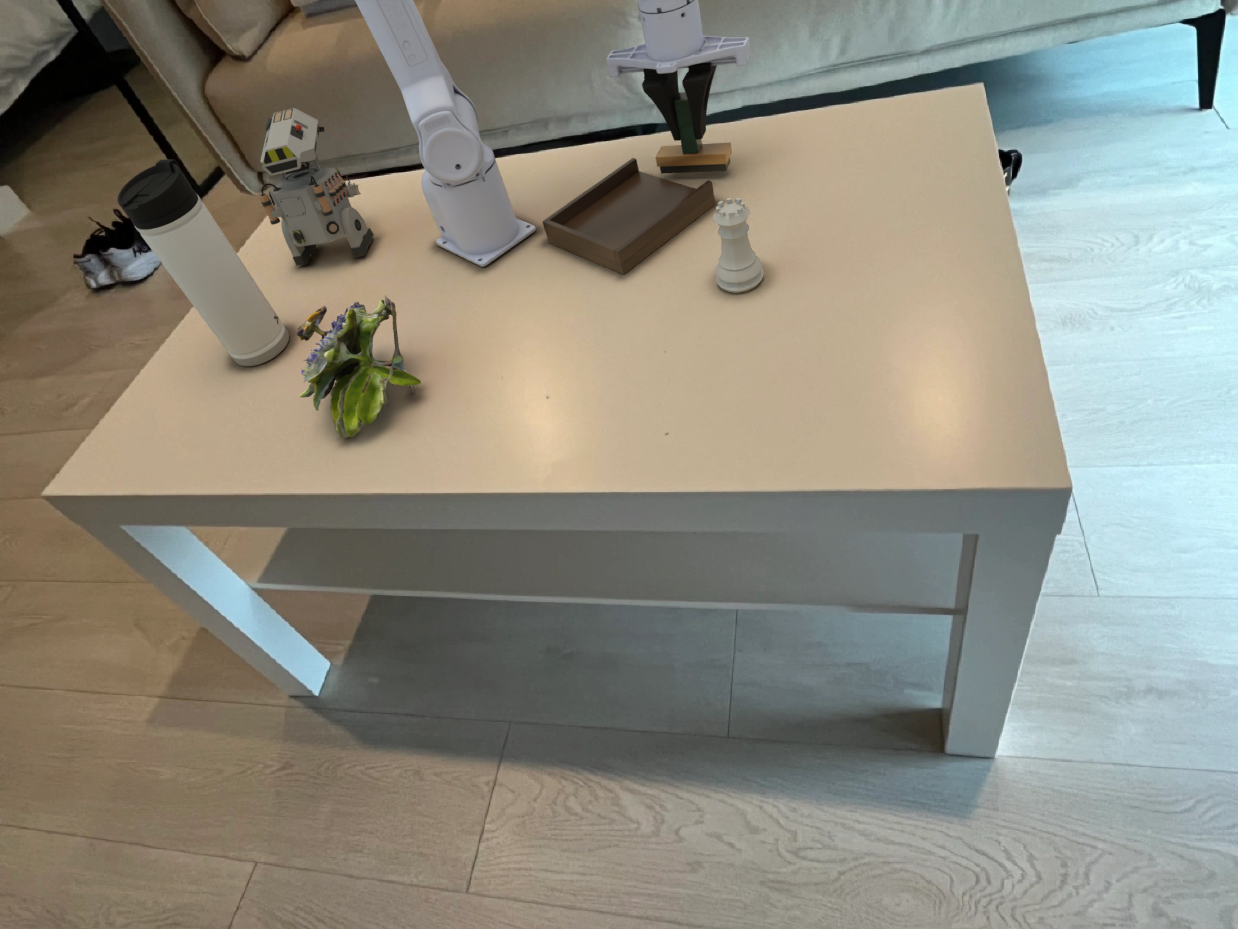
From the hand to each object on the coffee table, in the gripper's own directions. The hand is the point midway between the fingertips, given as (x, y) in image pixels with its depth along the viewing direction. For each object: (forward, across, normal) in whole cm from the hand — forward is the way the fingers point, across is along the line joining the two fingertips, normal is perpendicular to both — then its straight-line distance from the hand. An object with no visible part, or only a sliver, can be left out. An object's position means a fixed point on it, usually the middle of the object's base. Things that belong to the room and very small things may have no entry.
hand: (689, 135), depth 88 cm
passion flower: (+5, -22, -37) cm, 43 cm away
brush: (+4, 0, 0) cm, 4 cm away
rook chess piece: (+5, +9, -19) cm, 22 cm away
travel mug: (+5, -40, -32) cm, 51 cm away
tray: (+5, -5, -9) cm, 12 cm away
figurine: (+5, -42, -13) cm, 44 cm away
